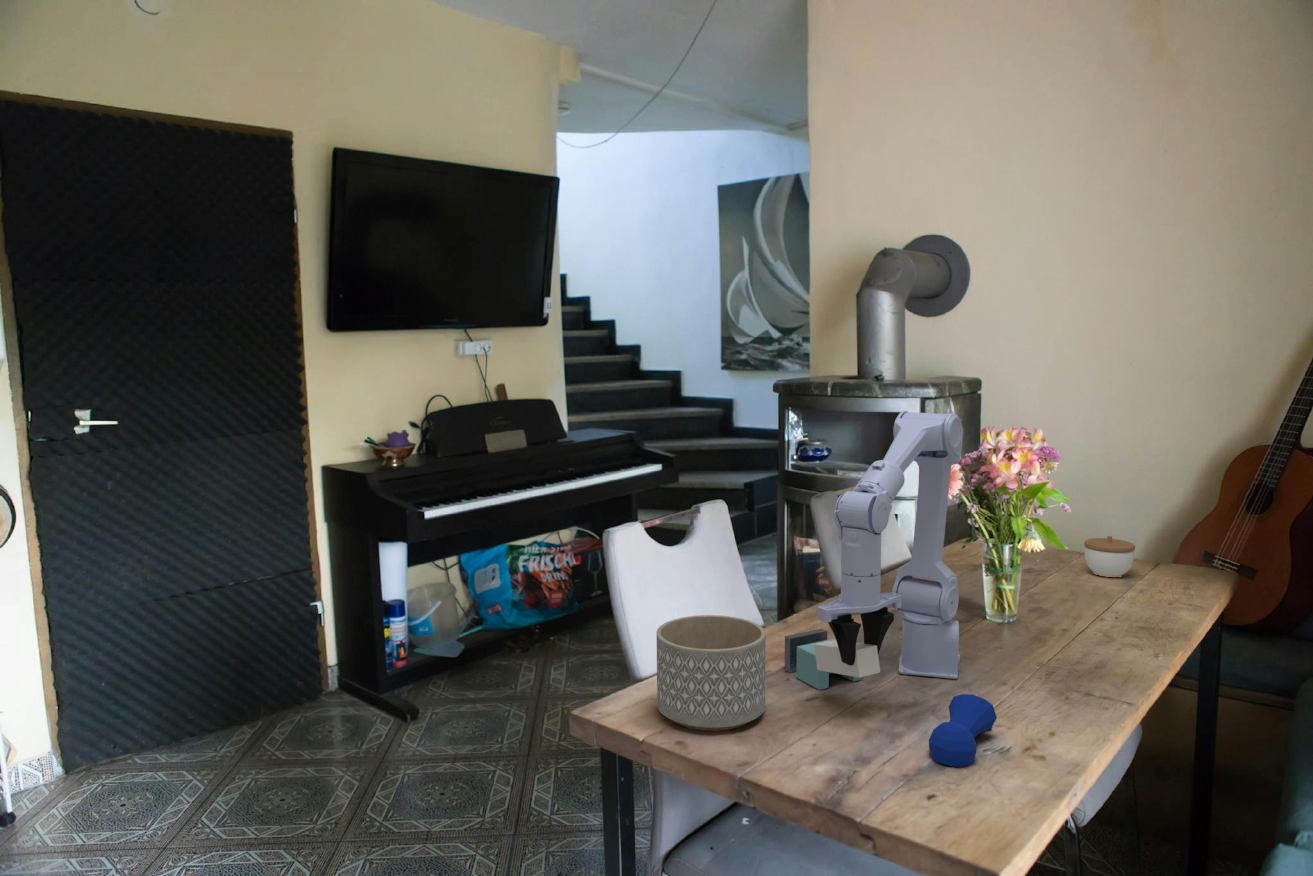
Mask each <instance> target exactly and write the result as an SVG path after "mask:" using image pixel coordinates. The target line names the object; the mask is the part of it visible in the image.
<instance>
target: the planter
mask: <svg viewBox="0 0 1313 876" xmlns="http://www.w3.org/2000/svg"><path fill="white" fill-rule="evenodd" d="M766 637H767V636H766V632H765V629H764V627H763V626H761V625H760V624H758V623H756V622H754V621H751V620H748V619H745V618H740V617H736V616H729V615H717V614H716V615H715V614H714V615H713V614H703V615H701V614H700V615H691V616H684V617H679V618H675V619H671V620H669V621H667V622H665V623H663V624H661V625H659V627H658V628H657V629H656V700H657V701H656V702H657V704H656V705H657V709H658V711H659V712H660V714H662V715H663V716H664V717H666V718H667V719H669V720H671V721H673V722H674V723H676V724H678V725H680V726H681V727H682V726H683V727H686V728H688V729H692V730H697V731H698V730H699V731H711V732H715V731H716V732H718V731H726V730H727V731H728V730H734V729H736V728H739V727H742V726H744V725H746V724H748V723H750V722H752V721H754V720H755V719H757V718H759V717H760V716H761V715H762V714H763V713H764V711H765V709H766Z"/></svg>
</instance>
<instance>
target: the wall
mask: <svg viewBox="0 0 1313 876" xmlns="http://www.w3.org/2000/svg"><path fill="white" fill-rule="evenodd" d="M825 640H828V630H826V629H824V628H818V629H813V630H809V631H804V632H799V633H794V634H789V635H784V671H785V672H787V673H789V674H791V673H797V646H801V645H806V644H811V643H815V642H820V641H825Z"/></svg>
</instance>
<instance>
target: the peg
mask: <svg viewBox="0 0 1313 876" xmlns="http://www.w3.org/2000/svg"><path fill="white" fill-rule="evenodd" d="M814 647H815V655H816V663H817V670H820V671H826V672H831V673H833V674H837V675H839V674H843V675H848V676H854V677H859V678H860V677H862V678H864V677H867V676H871V675H875V674H879V673H881V668H880V660H879V655H878V651H877V645H870V644H864V643H861V642H856V654H855V662H854V665H851V666H850V665H848V664H845V663H843V662H842V661H841V656H840V652H839V648H838V644H837V641H836V640H832V641H827V642H822V643H818V644H814Z"/></svg>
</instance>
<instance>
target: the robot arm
mask: <svg viewBox="0 0 1313 876" xmlns="http://www.w3.org/2000/svg"><path fill="white" fill-rule="evenodd" d="M892 429H893V433H892V434H893V440H892V443H891V444H890V446H889V448H888V450H887V452H886V454H885V456H884V457H883V459H879V460H875V461H874V462H873V463H871V465H870V466H869V467H868V469H867V470H866V471H865V472H864V474H863V475H862V477H861V478H860V479H859V481H858V482H857V484H856V485H855V486H854V488H853V489H852V490H847V491H845V492H844V493H842V494H840V495H839V497H838V499H837V500H836V503H835V510H834V511H833V516H834V517H833V519H834V521H835V525H836V527H837V538H838V540H839V541H841V554H840V555H841V561H840V562H841V564H840V565H841V569H840V570H841V573H840V574H841V575H840V576H841V577H840V578H841V579H840V594H839V595H838V598H837V599H835V600H833V601H831V602H829V603H826V604H824V605H820V606H817V620H819V621H821V622H823V623H826V624H828V626H829V627H830V630H831V631H832V633H833V636H834V637H835V638H836V641H837V644H838V648H839V652H840V656H841V661H842V662H843V663H845V664H848V665H850V666H851V665H854V662H855V654H856V643H857V641H858V635H859V633H860V630H861V626H862V632H863V644H870V645H877V651H878V656H879V655H880V651H881V648H882V644H883V641H884V638H885V636H886V634H887V632H888V630H889V629H890V626H891V625H892V624H893V622H895V614H894V613H893V612H891V611H889V609H891V608H894V609H895V610H896V612H898V617H899V618H901V619H902V623H901V624H902V625H901V629H902V630H901V633H902V634H901V655H899V661H898V673H899V674H900V675H910V676H920V677H932V678H942V679H953V680H957V679H959V665H960V664H961V663H960V662H961V654H960V652H959V647H960V646H959V644H960V641H959V639H960V633H959V632H960V627H959V625H960V624H959V620H954V619H952V618H954V617H955V615H956V614H957V611H958V607H959V602H960V601H959V599H960V598H959V597H960V596H959V590H958V583H959V582H958V576H957V575H956V573H954V572H953V571H952V570H951V569H950V568H949V567H948V566H947V565H946V564H945V563H944V562H943V555H944V546H945V545H944V543H945V533H946V523H947V521H946V520H947V512H948V499H949V490H950V479H951V478H950V477H951V471H952V466H954V465H956V464H958V463H960V462H961V455H962V448H963V439H964V438H963V436H964V427H963V424H962V421H961V419H960V417H959V416H958V414H957V413H954V412H953V413H951V412H950V413H933V412H913V411H910V412H909V411H907V410H903V411H901V412H899V414H898V415H897V417H896V418H895V421H894V424H893V427H892ZM913 462H915V463H916V464H917V466H918V467H919V479H918V488H917V489H918V490H917V501H916V511H915V512H916V513H915V521H914V532H913V533H914V535H913V543H912V544H913V546H912V554H911V555H912V556H911V560H909V561H907V562H906V563H904V564H903V565H901V566H900V567H899V568H898V569H897V572H896V576H895V580H894V583H893V585H892V591H891V592H884V593H881V583H882V582H881V577H882V575H881V571H882V532H884V530H885V529H886V528H887V526H888V523H889V518H890V514H891V512H892V508H893V506H892V503H893V502H894V500H895V498H896V497H897V495H898V494H899V492H900V491H901V490H902V488H903V486H904V485H905V480H906V479H905V475H904V473H905V471H906V470H908V468H909V467H910V466H911V464H912V463H913ZM924 578H925V579H924ZM857 615H859V616H860V619H861V623H862V624H861V623H859V622H856V621H855V619H854V618H853V616H857Z"/></svg>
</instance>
